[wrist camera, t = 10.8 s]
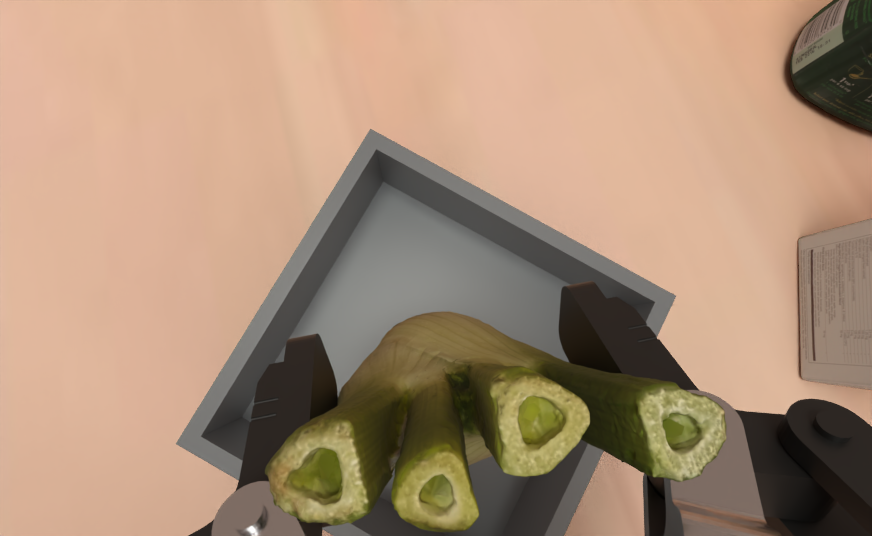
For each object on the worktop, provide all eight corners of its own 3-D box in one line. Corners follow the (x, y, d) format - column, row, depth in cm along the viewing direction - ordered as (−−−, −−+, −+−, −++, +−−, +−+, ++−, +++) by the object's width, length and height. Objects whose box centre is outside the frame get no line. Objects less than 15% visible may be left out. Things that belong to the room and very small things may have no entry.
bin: (229, 419, 27) (176, 443, 21) (379, 170, 29) (370, 128, 23) (492, 571, 26) (514, 641, 20) (622, 303, 29) (676, 296, 23)
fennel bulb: (534, 346, 17) (782, 364, 6) (492, 474, 17) (673, 812, 5) (392, 292, 18) (337, 198, 6) (343, 417, 17) (161, 611, 5)
